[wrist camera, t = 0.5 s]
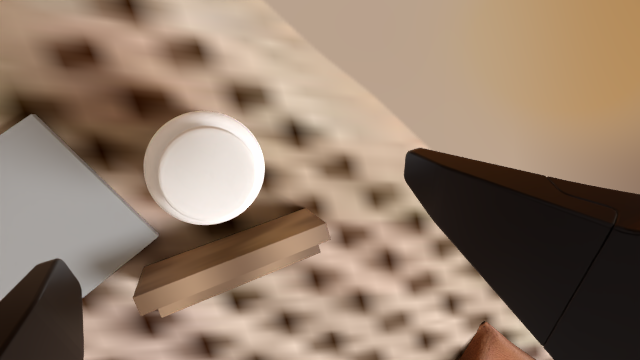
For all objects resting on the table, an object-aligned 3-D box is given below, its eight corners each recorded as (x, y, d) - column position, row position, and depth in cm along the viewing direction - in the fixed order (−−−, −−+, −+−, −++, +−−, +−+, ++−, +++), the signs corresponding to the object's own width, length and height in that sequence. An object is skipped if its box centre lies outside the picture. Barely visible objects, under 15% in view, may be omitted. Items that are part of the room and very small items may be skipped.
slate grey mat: (159, 234, 23) (158, 236, 23) (27, 340, 22) (23, 345, 21) (35, 114, 20) (31, 114, 19) (-132, 227, 18) (-142, 231, 18)
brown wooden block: (305, 208, 27) (326, 223, 23) (317, 249, 28) (339, 270, 23) (143, 267, 23) (132, 297, 19) (162, 311, 24) (156, 350, 20)
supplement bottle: (258, 141, 25) (298, 150, 15) (220, 208, 25) (237, 261, 15) (185, 99, 23) (178, 79, 13) (143, 172, 22) (105, 206, 13)
